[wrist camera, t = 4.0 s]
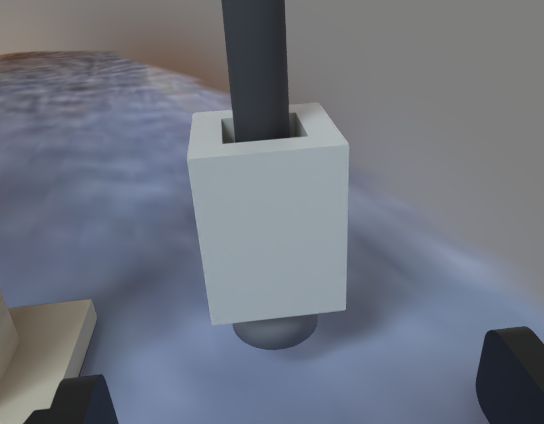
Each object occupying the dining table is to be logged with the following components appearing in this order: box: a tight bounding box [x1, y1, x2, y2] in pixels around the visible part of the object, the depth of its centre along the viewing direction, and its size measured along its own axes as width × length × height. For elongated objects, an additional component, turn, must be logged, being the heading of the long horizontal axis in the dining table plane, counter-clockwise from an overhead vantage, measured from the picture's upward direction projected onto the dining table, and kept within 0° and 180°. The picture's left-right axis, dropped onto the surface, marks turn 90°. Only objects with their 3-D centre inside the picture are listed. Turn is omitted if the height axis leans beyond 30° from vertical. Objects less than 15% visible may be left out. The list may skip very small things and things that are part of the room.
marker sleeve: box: [187, 103, 349, 326], centre depth 17 cm, size 5×5×6 cm
